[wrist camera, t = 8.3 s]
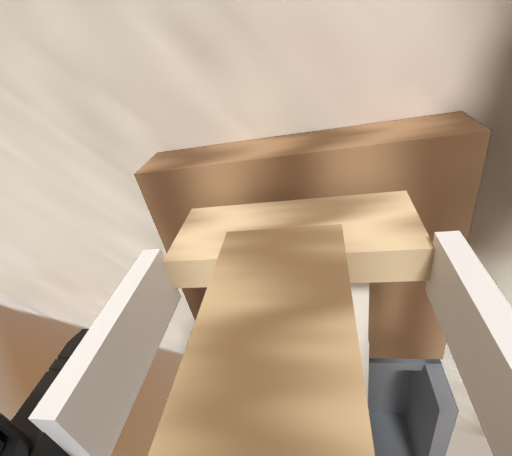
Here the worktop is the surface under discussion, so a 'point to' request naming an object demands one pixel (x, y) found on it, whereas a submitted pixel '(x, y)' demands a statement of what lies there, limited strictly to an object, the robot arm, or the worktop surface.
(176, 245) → the scraper
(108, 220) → the worktop surface
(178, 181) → the board
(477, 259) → the robot arm
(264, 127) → the worktop surface
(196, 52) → the worktop surface
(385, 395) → the tray
